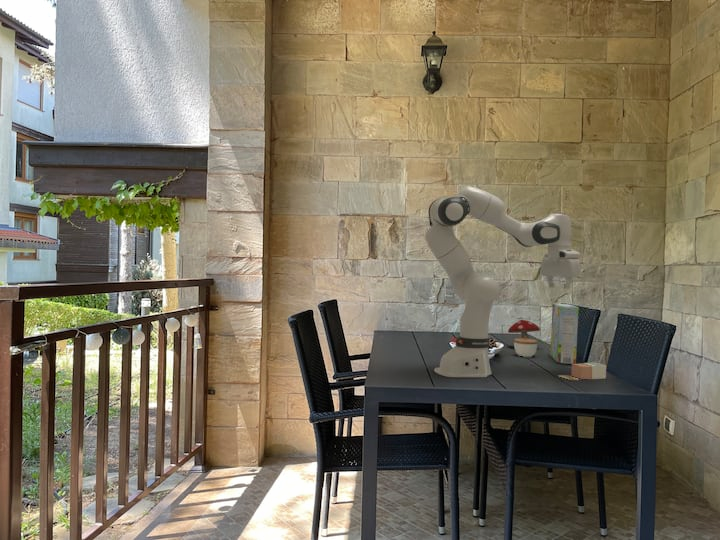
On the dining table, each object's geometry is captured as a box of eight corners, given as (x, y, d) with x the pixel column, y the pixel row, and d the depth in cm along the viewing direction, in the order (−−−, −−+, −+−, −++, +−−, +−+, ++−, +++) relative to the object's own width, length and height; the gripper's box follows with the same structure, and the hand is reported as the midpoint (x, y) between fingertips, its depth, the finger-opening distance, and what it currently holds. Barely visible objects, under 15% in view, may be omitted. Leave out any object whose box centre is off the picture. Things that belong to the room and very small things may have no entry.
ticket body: (591, 379, 199) (592, 365, 198) (581, 375, 204) (581, 362, 204) (605, 378, 200) (606, 365, 200) (594, 375, 206) (595, 362, 206)
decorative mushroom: (505, 349, 266) (506, 320, 266) (509, 345, 281) (510, 317, 281) (538, 351, 260) (539, 322, 260) (540, 347, 275) (541, 319, 274)
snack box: (578, 365, 227) (579, 306, 227) (557, 364, 229) (558, 306, 228) (568, 356, 248) (570, 303, 248) (549, 355, 250) (550, 302, 250)
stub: (581, 379, 197) (582, 366, 197) (571, 376, 203) (571, 363, 203) (590, 379, 198) (591, 366, 198) (580, 376, 204) (580, 363, 204)
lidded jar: (539, 356, 248) (540, 336, 248) (533, 359, 239) (534, 339, 239) (517, 353, 254) (517, 334, 254) (510, 356, 245) (511, 336, 245)
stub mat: (569, 380, 195) (569, 379, 195) (557, 376, 202) (557, 375, 202) (579, 380, 196) (579, 379, 196) (567, 376, 203) (567, 375, 203)
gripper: (536, 254, 217) (536, 286, 217) (569, 253, 197) (569, 289, 198) (549, 254, 219) (549, 286, 219) (583, 253, 199) (583, 289, 199)
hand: (559, 288), depth 208 cm, fingers open, 8 cm apart
